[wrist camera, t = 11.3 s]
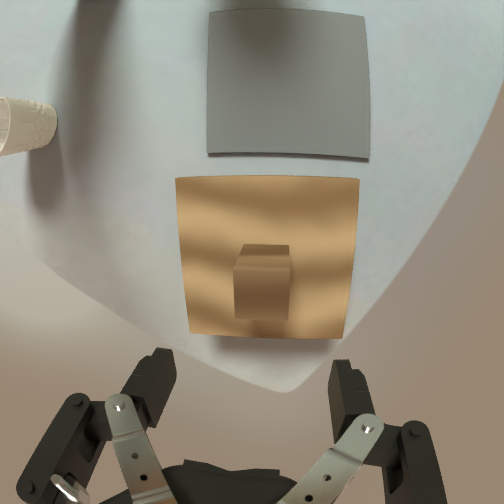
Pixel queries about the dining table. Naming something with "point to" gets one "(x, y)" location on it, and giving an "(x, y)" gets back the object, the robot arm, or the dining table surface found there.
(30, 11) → the dining table surface
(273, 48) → the grey mat
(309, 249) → the oak lid
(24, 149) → the white cup
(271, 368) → the dining table surface
